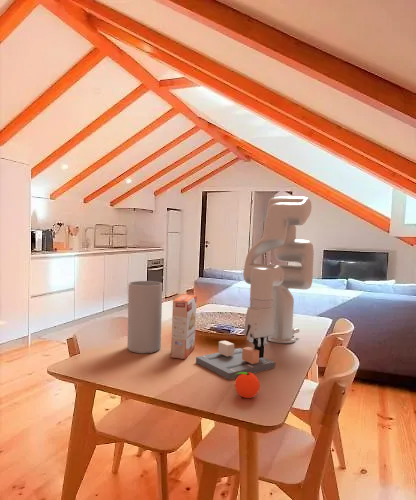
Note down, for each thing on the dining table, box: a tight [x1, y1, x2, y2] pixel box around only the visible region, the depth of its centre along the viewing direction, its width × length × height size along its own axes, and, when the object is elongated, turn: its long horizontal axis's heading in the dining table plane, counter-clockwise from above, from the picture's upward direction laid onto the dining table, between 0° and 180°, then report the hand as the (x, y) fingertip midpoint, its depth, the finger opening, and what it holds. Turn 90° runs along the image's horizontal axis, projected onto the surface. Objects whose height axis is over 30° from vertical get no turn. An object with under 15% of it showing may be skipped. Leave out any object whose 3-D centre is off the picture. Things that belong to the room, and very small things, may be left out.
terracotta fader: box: [242, 346, 259, 364], centre depth 138 cm, size 3×5×4 cm, turn 36°
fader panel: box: [195, 347, 276, 381], centre depth 141 cm, size 20×18×2 cm
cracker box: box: [170, 293, 198, 360], centre depth 151 cm, size 14×6×21 cm, turn 168°
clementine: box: [233, 372, 261, 399], centre depth 115 cm, size 8×7×7 cm
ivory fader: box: [217, 340, 235, 357], centre depth 144 cm, size 3×5×4 cm, turn 36°
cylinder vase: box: [126, 280, 163, 354], centre depth 155 cm, size 12×12×25 cm
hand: (258, 356), depth 140 cm, fingers closed
